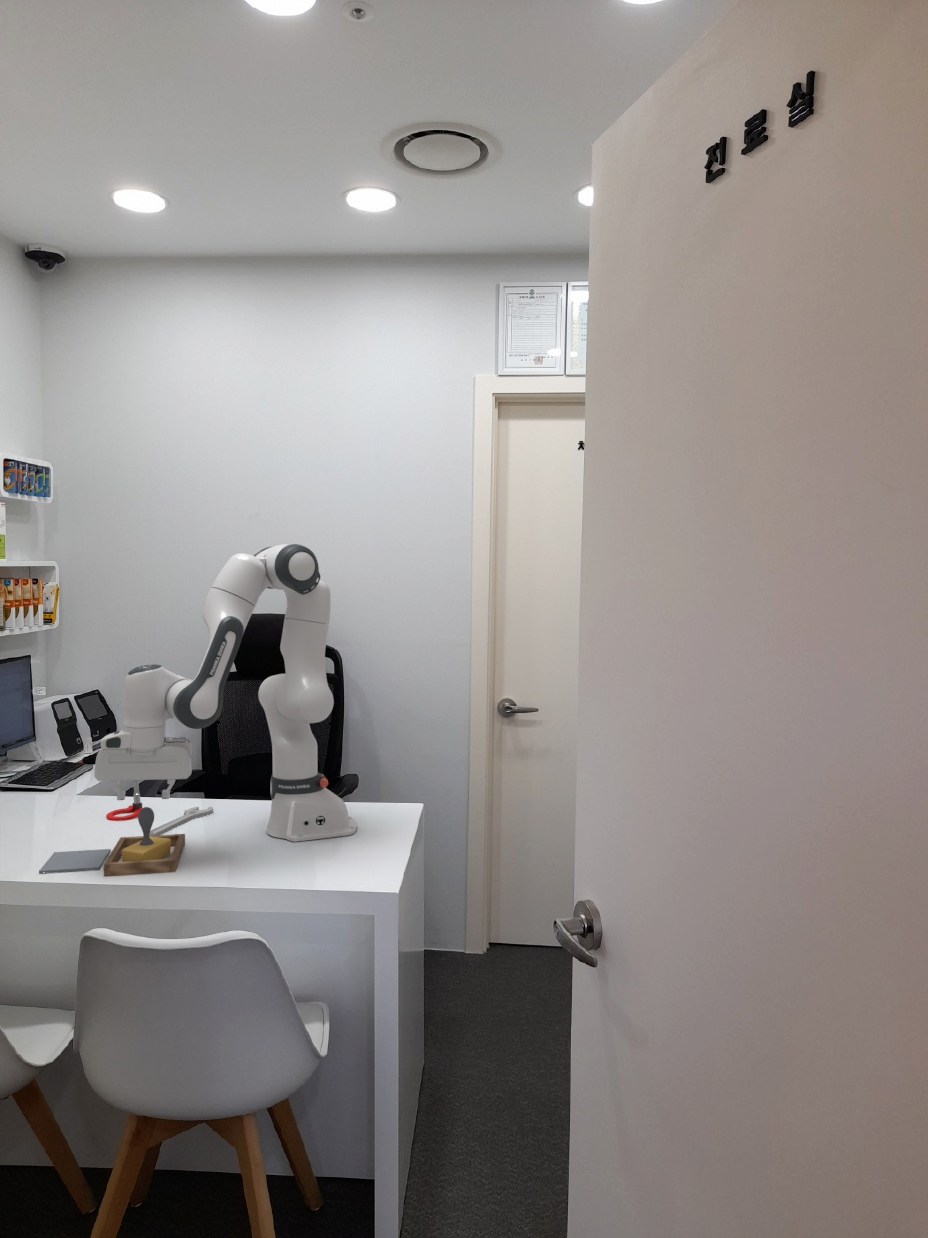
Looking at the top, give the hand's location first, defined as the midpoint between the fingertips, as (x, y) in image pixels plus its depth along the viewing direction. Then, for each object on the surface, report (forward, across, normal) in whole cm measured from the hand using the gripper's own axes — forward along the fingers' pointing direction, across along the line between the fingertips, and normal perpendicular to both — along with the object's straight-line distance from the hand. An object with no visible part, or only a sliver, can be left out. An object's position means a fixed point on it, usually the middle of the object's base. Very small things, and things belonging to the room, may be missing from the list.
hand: (143, 799), depth 184 cm
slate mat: (+14, +14, -1) cm, 20 cm away
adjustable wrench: (+14, -4, -27) cm, 30 cm away
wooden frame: (+14, -1, 0) cm, 14 cm away
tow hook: (+14, +10, -36) cm, 40 cm away
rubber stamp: (+14, -1, 0) cm, 14 cm away
